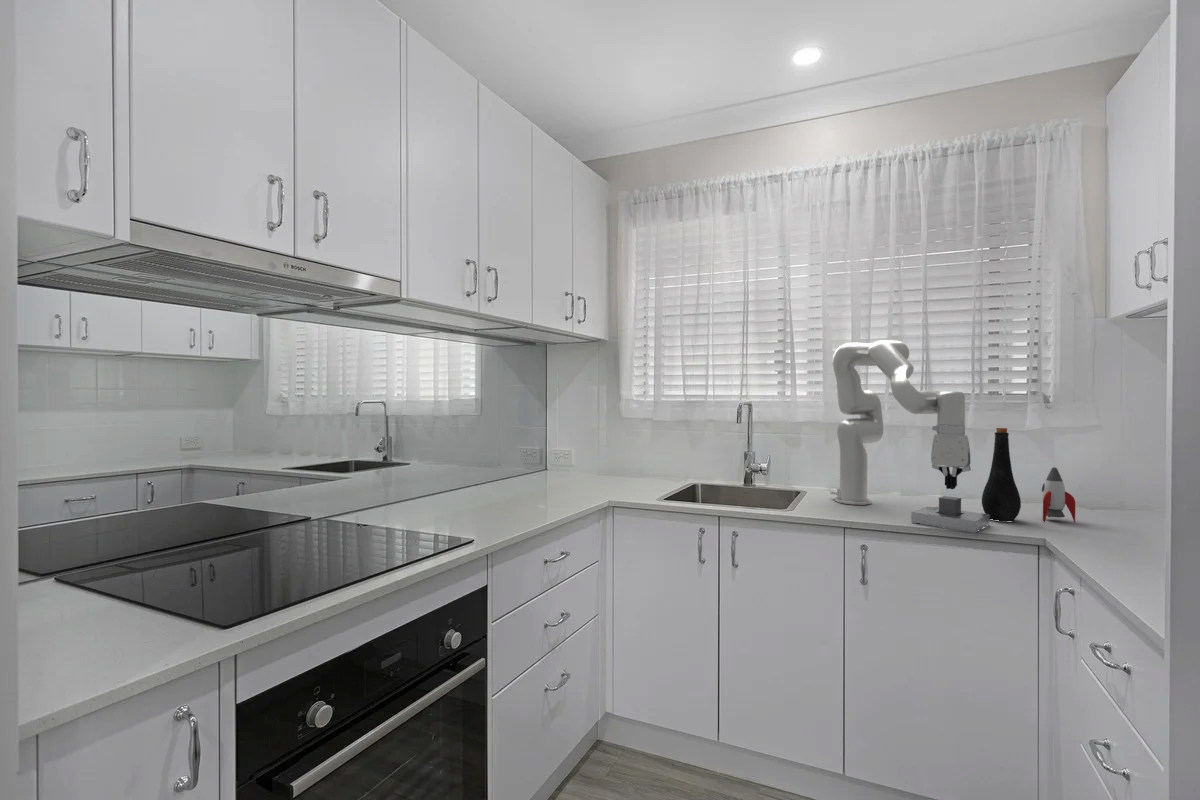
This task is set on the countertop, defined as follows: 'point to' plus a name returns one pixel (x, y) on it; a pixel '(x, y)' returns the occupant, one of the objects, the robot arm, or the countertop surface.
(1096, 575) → the countertop surface
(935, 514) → the socket plate
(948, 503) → the plug
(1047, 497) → the toy
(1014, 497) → the bottle
